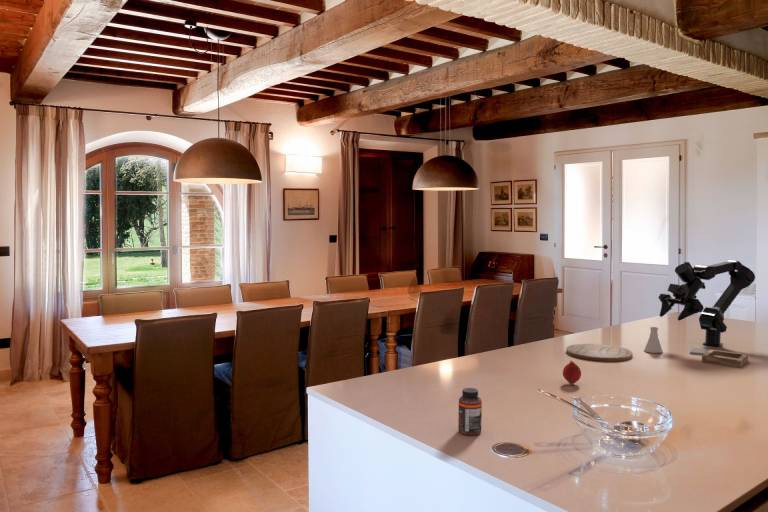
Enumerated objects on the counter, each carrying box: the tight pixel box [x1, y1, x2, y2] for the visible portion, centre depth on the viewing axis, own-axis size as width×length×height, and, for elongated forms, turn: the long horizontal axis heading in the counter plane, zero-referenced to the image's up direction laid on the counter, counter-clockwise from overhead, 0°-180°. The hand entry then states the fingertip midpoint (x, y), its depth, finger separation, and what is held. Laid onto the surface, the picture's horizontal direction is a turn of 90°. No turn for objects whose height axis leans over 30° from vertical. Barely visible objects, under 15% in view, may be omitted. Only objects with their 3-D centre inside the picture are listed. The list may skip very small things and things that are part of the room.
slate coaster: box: [689, 347, 712, 356], centre depth 253 cm, size 9×9×1 cm
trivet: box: [565, 343, 634, 363], centre depth 251 cm, size 25×25×2 cm
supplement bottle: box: [457, 387, 483, 437], centre depth 163 cm, size 6×6×11 cm
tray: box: [701, 349, 749, 368], centre depth 239 cm, size 13×13×2 cm
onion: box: [562, 359, 582, 385], centre depth 207 cm, size 6×6×8 cm
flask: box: [643, 326, 663, 354], centre depth 255 cm, size 7×7×10 cm
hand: (669, 318), depth 257 cm, fingers open, 9 cm apart
